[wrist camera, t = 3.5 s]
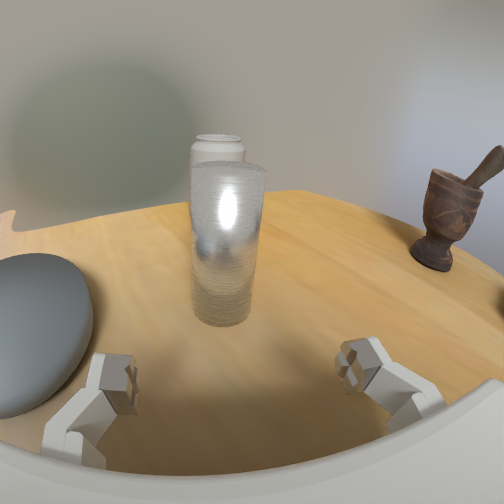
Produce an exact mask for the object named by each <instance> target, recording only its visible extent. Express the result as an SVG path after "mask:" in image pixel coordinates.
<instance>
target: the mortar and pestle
mask: <svg viewBox="0 0 504 504" xmlns="http://www.w3.org/2000/svg"><path fill="white" fill-rule="evenodd" d="M503 169H504V148H503V147H502V146H501V145H499V146H496V147H495V148H494V149H493V150H492V151H491V152H490V153H489V154H488V155H487V156H486V157H485V159H484V160H483V161H482V162H481V164H480V165H479V167H478V168H477V169H476V170H475V171H474V172H473V173H472V174H471V175H470V176H469V177H468V178H467V179H466V180H463V179H461V178H459V177H457V176H454V175H453V174H451V173H447V172H445V171H442V170H438V169H433V170H432V172H431V176H430V180H429V184H428V188H427V191H426V195H425V200H424V205H423V222H424V224H425V226H426V229H427V232H426V236H424V237H423V238H422V239H418V240H417V241H416V242H415V243H414V245H413V246H412V248H411V254H412V255H413V256H414V257H415V258H416V259H417V260H418V261H420V262H421V263H422V264H424V265H426V266H429V267H431V268H434V269H437V270H440V271H443V272H447V271H450V269H451V266H452V262H453V258H452V254H451V251H450V247H451V245H452V243H453V242H455V241H458V240H461V239H462V238H463V237H464V235H465V234H466V233H467V231H468V229H469V228H470V226H471V225H472V223H473V220H474V218H475V215H476V213H477V209H478V207H479V204H480V201H481V199H482V197H483V191H482V190H481V189H480V188H479V187H480V186H482V185H483V184H484V183H485V182H486V181H488V180H489V179H490V178H492V177H494V176H495V175H496V174H498V173H499V172H501V171H502V170H503Z"/></svg>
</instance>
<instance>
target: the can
mask: <svg viewBox="0 0 504 504" xmlns="http://www.w3.org/2000/svg"><path fill="white" fill-rule="evenodd" d="M196 138H197V141H196V142H195V143H194V144H193V145H192V147H191V154H190V193H189V211H190V213H191V185H192V166H193V165H195V164H197V163H201V162H206V161H237V162H244V161H245V148H244V147H243V145H242V144H241V143H240V141H241V140H242V139H241V138H240V137H237V136H231V135H218V134H216V135H215V134H208V135H198V136H197V137H196Z"/></svg>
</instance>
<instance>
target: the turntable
mask: <svg viewBox="0 0 504 504" xmlns="http://www.w3.org/2000/svg"><path fill="white" fill-rule="evenodd" d="M93 322H94V312H93V306H92V301H91V298H90V294H89V291H88V288H87V284H86V281H85V279H84V276H83V274H82V273H81V271H80V270H79V269H78V268H77V267H76V266H75V265H74V264H73V263H71V262H70V261H68V260H67V259H64V258H62V257H59V256H56V255H51V254H43V253H30V254H22V255H17V256H12V257H9V258H5V259H3V260H0V419H5V418H11V417H14V416H17V415H20V414H23V413H26V412H27V411H29V410H31V409H33V408H35V407H37V406H38V405H40V404H41V403H43V402H44V401H45V400H47V399H48V398H50V397H51V396H52V395H53V394H54V393H55V392H56V391H57V390H58V389H60V388H61V386H62V385H63V384H64V383H65V382H66V381H67V380H68V378H69V377H70V376H71V375H72V373H73V372H74V370H75V369H76V368H77V366H78V365H79V363H80V361H81V359H82V357H83V355H84V354H85V352H86V349H87V347H88V344H89V342H90V338H91V334H92V330H93Z"/></svg>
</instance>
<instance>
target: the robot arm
mask: <svg viewBox="0 0 504 504" xmlns="http://www.w3.org/2000/svg"><path fill="white" fill-rule="evenodd" d="M340 348H341V351H340V352H339V353H338V354H337V355H336V357H335V360H334V366H335V370H336V373H337V375H338V376H340V377H341V378H343V379H342V385H343V387H344V390H345V392H346V394H347V395H350V394H354V393H358V392H362V391H364V393H365V394H367V395H368V396H369V397H370V398H372V399H373V400H374V401H375V402H377V403H378V404H379V405H380V406H382V407H383V408H384V409H385V410H387V411H388V412H389V413H390V414H392V415H393V416H392V417H391V418H390V419H389V420H388V421H387V423H386V426H387V428H388V430H389V432H390V434H388V435H386V436H383V437H381V438H378V439H376V440H373V441H371V442H368V443H365V444H363V445H360V446H357V447H354V448H351V449H348V450H345V451H342V452H338V453H335V454H332V455H328V456H325V457H321V458H317V459H313V460H309V461H305V462H301V463H296V464H292V465H287V466H282V467H276V468H271V469H264V470H258V471H251V472H242V473H233V474H221V475H204V476H162V475H145V474H133V473H124V472H116V471H109V470H106V458H105V456H104V455H103V454H102V453H100V452H99V451H98V450H97V449H96V448H95V446H96V445H97V443H98V442H99V441H100V439H101V438H102V436H103V435H104V434H105V432H106V431H107V429H108V428H109V427H110V425H111V424H112V422H113V421H114V420H115V418H116V417H117V414H119V415H138V408H139V400H138V397H137V395H136V394H137V393H138V392H139V391H140V377H139V372H138V368H136V367H135V360H134V357H133V356H132V355H119V354H107V353H94V354H93V356H92V360H91V364H90V368H89V372H88V377H87V381H86V386H85V388H81V389H80V390H79V391H78V392H77V393H76V394H75V395H74V396H73V397H72V398H71V399H70V400H69V401H68V402H67V403H66V404H65V405H64V406H63V407H62V408H61V409H60V410H59V411H58V412H57V413H56V414H55V415H54V416H53V417H52V418H51V419H50V420H49V421H48V422H47V423H46V424H45V429H44V434H43V440H42V446H41V452H40V454H36V453H33V452H30V451H28V450H25V449H22V448H19V447H17V446H14V445H11V444H9V443H6V442H4V441H2V440H0V504H504V382H502V381H499V380H497V379H494V378H489V379H487V380H486V381H484V382H483V383H481V384H480V385H479V386H477V387H476V388H474V389H473V390H471V391H470V392H468V393H467V394H465V395H463V396H462V397H460V398H459V399H457V400H455V401H454V402H452V403H450V404H449V405H447V404H446V402H445V400H444V399H443V397H442V396H441V394H440V392H439V391H438V389H437V388H436V386H435V385H434V384H433V383H431V382H429V381H428V380H426V379H424V378H422V377H421V376H419V375H417V374H416V373H414V372H412V371H410V370H409V369H407V368H405V367H404V366H402V365H400V364H399V363H397V362H393V361H392V360H391V358H390V357H389V355H388V353H387V352H386V350H385V349H384V347H383V346H382V344H381V343H380V341H379V340H378V338H377V337H375V336H370V337H366V338H359V339H354V340H349V341H344V342H343V343H342V344H341V346H340Z"/></svg>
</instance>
